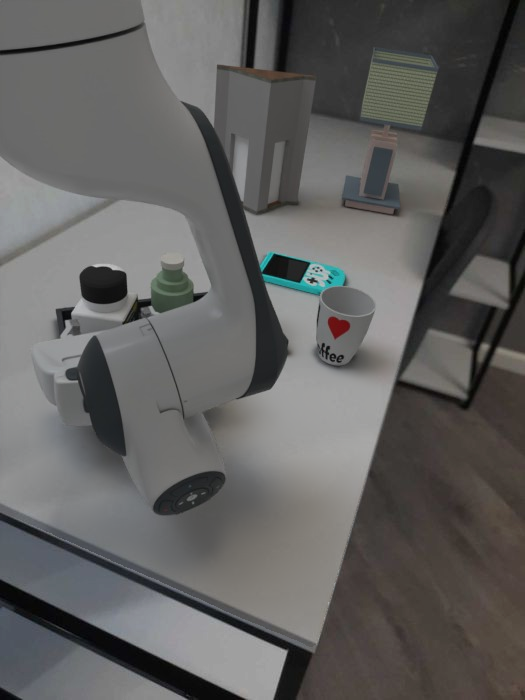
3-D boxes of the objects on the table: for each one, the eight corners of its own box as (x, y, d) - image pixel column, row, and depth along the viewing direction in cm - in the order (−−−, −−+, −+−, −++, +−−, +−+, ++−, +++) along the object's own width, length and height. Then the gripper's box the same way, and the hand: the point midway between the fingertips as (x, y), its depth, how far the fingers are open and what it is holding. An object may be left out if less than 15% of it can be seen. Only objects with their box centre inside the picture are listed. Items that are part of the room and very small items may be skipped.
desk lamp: (397, 218, 126) (440, 68, 106) (340, 208, 127) (371, 58, 108) (395, 192, 141) (433, 56, 121) (344, 183, 142) (372, 46, 122)
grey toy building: (296, 202, 128) (315, 75, 111) (299, 218, 120) (320, 85, 103) (210, 194, 126) (217, 64, 109) (208, 210, 118) (215, 73, 101)
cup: (297, 348, 80) (308, 293, 74) (335, 333, 85) (348, 280, 79) (333, 378, 76) (348, 322, 70) (371, 361, 80) (388, 306, 74)
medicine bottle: (126, 361, 73) (121, 288, 66) (76, 354, 73) (65, 280, 66) (140, 332, 79) (137, 262, 71) (93, 325, 79) (85, 254, 71)
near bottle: (156, 350, 76) (155, 271, 68) (148, 326, 80) (145, 249, 72) (196, 344, 78) (199, 266, 70) (186, 321, 82) (188, 246, 74)
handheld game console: (337, 300, 93) (339, 293, 92) (253, 279, 96) (253, 272, 95) (346, 275, 101) (348, 269, 100) (268, 256, 104) (269, 250, 103)
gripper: (229, 344, 59) (187, 284, 69) (38, 385, 51) (20, 310, 60) (225, 385, 63) (186, 322, 73) (48, 429, 55) (29, 352, 64)
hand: (109, 317), depth 66 cm, fingers open, 8 cm apart
